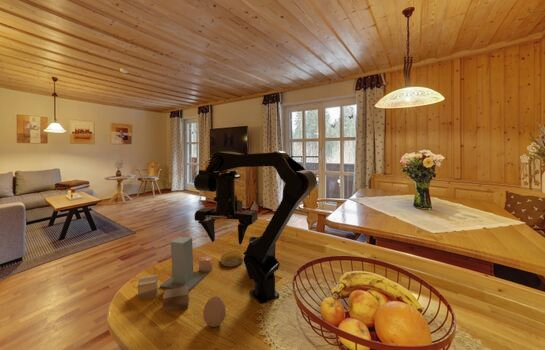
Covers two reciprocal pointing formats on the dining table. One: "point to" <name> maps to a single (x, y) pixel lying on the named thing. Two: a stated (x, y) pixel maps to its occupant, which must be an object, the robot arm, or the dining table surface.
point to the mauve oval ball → (214, 312)
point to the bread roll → (231, 258)
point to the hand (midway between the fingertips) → (226, 242)
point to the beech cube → (147, 287)
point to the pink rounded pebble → (205, 264)
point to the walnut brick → (175, 299)
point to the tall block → (182, 260)
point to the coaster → (191, 283)
